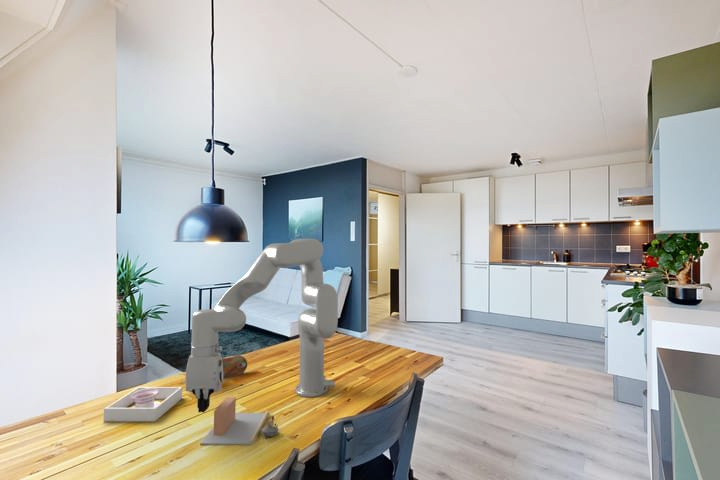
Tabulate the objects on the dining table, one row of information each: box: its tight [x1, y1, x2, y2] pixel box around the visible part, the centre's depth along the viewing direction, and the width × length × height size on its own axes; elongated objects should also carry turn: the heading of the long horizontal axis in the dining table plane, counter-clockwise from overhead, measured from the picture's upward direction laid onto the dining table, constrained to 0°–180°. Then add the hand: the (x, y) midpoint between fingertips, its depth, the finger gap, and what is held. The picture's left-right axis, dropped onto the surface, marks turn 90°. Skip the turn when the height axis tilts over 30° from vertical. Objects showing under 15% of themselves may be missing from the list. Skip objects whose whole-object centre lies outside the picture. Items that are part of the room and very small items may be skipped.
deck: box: [213, 396, 237, 435], centre depth 99 cm, size 3×9×7 cm, turn 1°
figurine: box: [260, 415, 280, 439], centre depth 96 cm, size 5×4×6 cm
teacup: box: [129, 388, 162, 408], centre depth 109 cm, size 12×12×6 cm
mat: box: [200, 410, 270, 446], centre depth 99 cm, size 15×17×1 cm
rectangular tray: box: [103, 386, 183, 422], centre depth 110 cm, size 16×16×4 cm
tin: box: [222, 354, 248, 380], centre depth 140 cm, size 15×3×8 cm, turn 122°
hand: (203, 410), depth 99 cm, fingers closed
